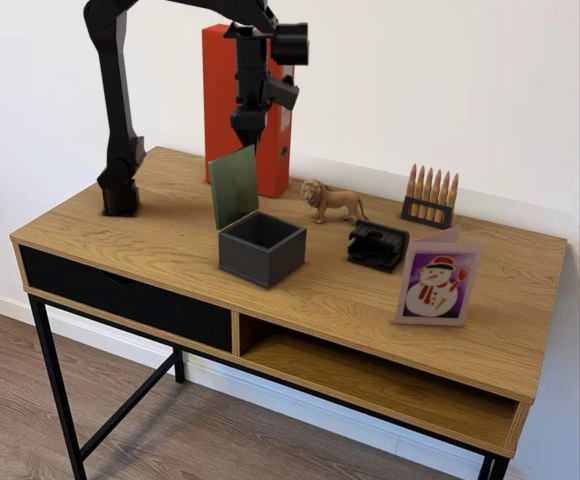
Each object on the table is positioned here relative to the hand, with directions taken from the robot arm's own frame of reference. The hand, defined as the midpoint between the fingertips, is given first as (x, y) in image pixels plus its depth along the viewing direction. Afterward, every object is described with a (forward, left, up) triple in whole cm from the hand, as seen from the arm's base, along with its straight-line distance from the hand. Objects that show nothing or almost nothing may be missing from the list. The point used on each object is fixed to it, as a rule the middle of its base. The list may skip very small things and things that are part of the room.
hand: (255, 150), depth 123 cm
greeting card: (+31, -32, -15) cm, 47 cm away
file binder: (-3, +18, -15) cm, 23 cm away
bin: (+3, -19, -15) cm, 24 cm away
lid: (-2, -16, -1) cm, 16 cm away
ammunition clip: (+36, +3, -15) cm, 39 cm away
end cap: (+24, -14, -15) cm, 32 cm away
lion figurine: (+16, +1, -15) cm, 22 cm away
